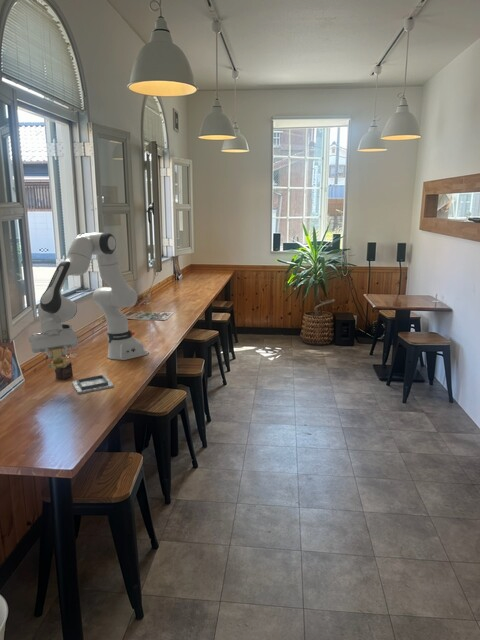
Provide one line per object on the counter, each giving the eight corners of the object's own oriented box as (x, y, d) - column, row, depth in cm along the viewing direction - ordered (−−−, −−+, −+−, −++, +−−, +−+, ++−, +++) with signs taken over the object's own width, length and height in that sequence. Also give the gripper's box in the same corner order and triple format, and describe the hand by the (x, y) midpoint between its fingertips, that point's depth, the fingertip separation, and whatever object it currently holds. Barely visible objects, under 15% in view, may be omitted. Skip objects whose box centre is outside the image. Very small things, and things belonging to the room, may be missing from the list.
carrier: (105, 377, 237) (105, 372, 237) (113, 387, 224) (113, 382, 223) (72, 383, 230) (71, 379, 230) (78, 394, 216) (77, 389, 216)
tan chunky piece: (67, 361, 225) (65, 345, 223) (70, 366, 218) (68, 349, 216) (47, 365, 221) (45, 348, 219) (49, 370, 214) (47, 352, 212)
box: (66, 373, 244) (65, 360, 243) (73, 376, 241) (71, 362, 239) (55, 377, 240) (53, 363, 238) (62, 379, 236) (60, 365, 234)
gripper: (27, 331, 217) (32, 357, 211) (74, 324, 226) (81, 349, 220) (28, 338, 222) (33, 364, 216) (74, 331, 231) (80, 356, 225)
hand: (57, 357), depth 218 cm, fingers closed on tan chunky piece, 4 cm apart
